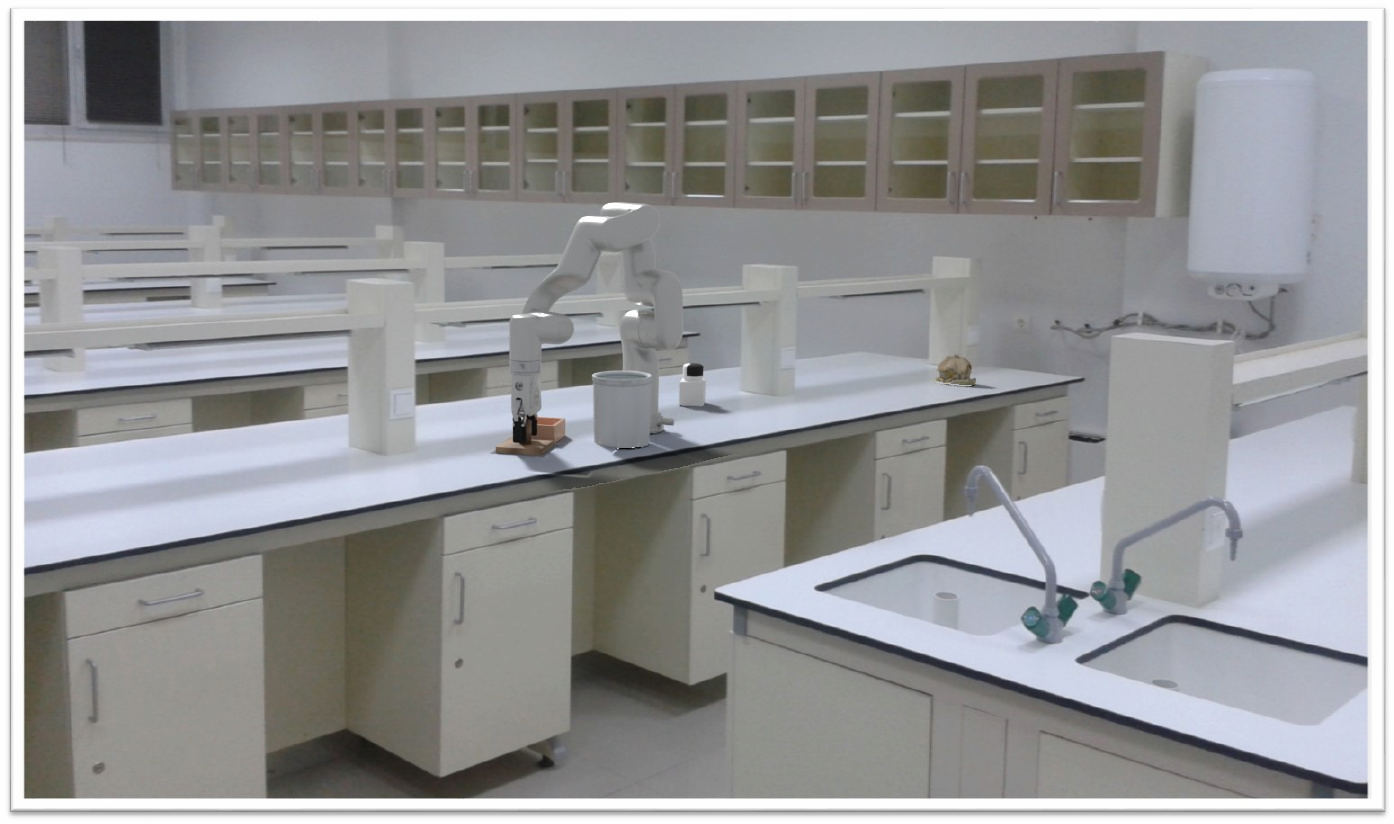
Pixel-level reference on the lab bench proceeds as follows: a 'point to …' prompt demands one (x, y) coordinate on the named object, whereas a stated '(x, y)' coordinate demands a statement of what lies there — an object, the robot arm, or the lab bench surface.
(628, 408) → the utensil holder
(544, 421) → the orange open box
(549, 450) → the mat
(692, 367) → the medicine bottle
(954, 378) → the ceramic model
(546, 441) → the lid
